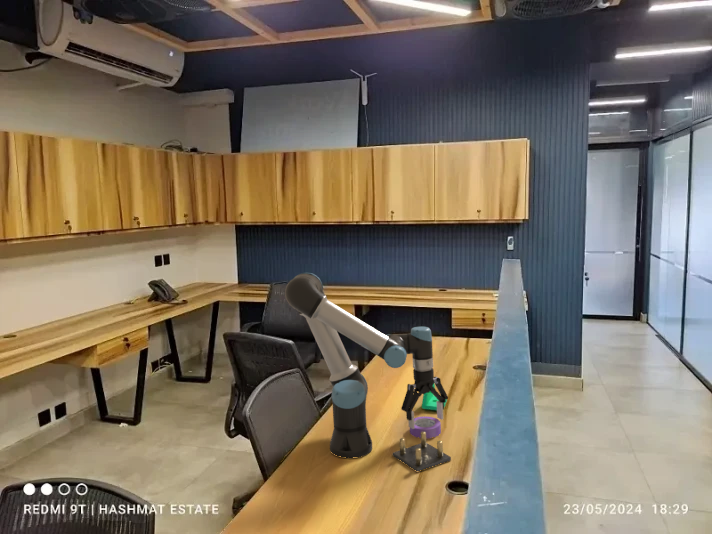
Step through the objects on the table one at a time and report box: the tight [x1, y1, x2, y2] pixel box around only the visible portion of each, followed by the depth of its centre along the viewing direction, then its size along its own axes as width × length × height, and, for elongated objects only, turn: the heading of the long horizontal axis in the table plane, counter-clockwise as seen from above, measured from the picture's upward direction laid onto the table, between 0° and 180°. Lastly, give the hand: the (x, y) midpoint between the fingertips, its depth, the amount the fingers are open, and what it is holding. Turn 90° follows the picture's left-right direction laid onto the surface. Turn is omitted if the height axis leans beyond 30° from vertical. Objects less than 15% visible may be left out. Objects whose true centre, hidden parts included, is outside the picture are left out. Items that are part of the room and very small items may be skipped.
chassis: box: [392, 432, 452, 472], centre depth 180 cm, size 14×14×6 cm
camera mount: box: [421, 383, 448, 411], centre depth 225 cm, size 12×8×10 cm, turn 155°
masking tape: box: [409, 416, 442, 439], centre depth 201 cm, size 12×12×4 cm
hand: (426, 423), depth 201 cm, fingers open, 13 cm apart
